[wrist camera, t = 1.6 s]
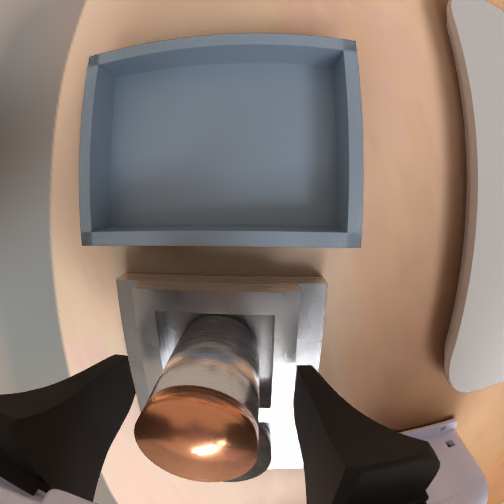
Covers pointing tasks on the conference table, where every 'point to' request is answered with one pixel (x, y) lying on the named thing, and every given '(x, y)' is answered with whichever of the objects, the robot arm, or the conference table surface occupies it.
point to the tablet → (479, 198)
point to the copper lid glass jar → (205, 404)
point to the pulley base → (248, 313)
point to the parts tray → (223, 143)
